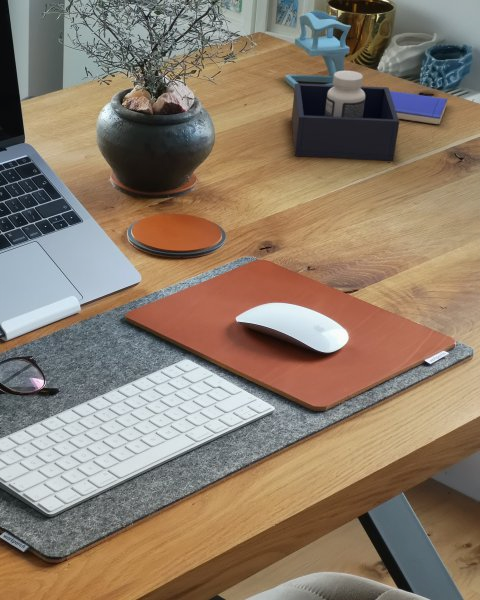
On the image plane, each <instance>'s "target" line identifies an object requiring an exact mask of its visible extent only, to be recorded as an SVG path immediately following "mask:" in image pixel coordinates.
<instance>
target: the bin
mask: <svg viewBox="0 0 480 600" xmlns="http://www.w3.org/2000/svg"><path fill="white" fill-rule="evenodd" d="M332 87H334V85H324V84H317V83H316V84H315V83H298V84H295V89H293V90H294V91H293V100H292V101H293V102H292V111H291V129H292V141H293V142H292V143H293V150H294V157H308V158H326V159H327V158H329V159H344V160H345V159H347V160H364V161H365V160H366V161H384V162H385V161H387V162H388V161H390V162H394V159H395V153H396V145H397V140H398V133H399V127H400V119H398V116H397V113H396V110H395V106H394V103H393V100H392V97H391V94H390V91H391V90H390V88H389V87H387V86H384V87H383V86H363V85H362V87H360V89H362V90H363V91H364V93H365V104H364V111H363V118H349V117H328V116H325V109H326V100H327V93H328V91H329V90H330V89H331V88H332Z"/></svg>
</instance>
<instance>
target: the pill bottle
mask: <svg viewBox="0 0 480 600" xmlns="http://www.w3.org/2000/svg"><path fill="white" fill-rule="evenodd" d="M363 80H364V75H363V74H362V73H360V72H357V71H353V70H344V71H338V72H336V73H335V74H334V78H333V85H334V87H332V88H331V89H330V90H329V91H328V93H327V100H326V109H325V116H328V117H349V118H363V111H364V104H365V93H364V91H363V90H362V89H360V87H362V86H363V82H364V81H363Z"/></svg>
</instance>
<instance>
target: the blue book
mask: <svg viewBox="0 0 480 600" xmlns="http://www.w3.org/2000/svg"><path fill="white" fill-rule="evenodd" d="M389 91H390V94H391V97H392V100H393V103H394V106H395V110H396V113H397V116H398V119H399V120H405V121H412V122H419V123H427V124H434V125H440V123H441V121H442V118H443V116H444V113H445V111H446V109H447V104H448V98H445V97H444V98H443V97H436V96H430V95H429V96H428V95H420V94H415V93H407V92H401V91H394V90H389Z"/></svg>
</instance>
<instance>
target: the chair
mask: <svg viewBox="0 0 480 600" xmlns="http://www.w3.org/2000/svg"><path fill="white" fill-rule="evenodd" d="M337 18H338V16H337V15H331V14H329V13H326V12H325V11H322V10H311V11H309V12H308V11H307V12H306V13H304V14H302V15H300V16H299V26H300V31H301V32H300V36H299V37H295V39H294V45H295V46H297V47H298V48H301V49H302V50H303V51H304V52H305V53H306V54H307V55H308V56H310V57H319V56H320V57H322V59H323V61H324V63H325V66H326V69H327V71H328V74H329V75H322V74H321V75H319V74H286V75H285V76H284V77H285V79H284V80H285V82H286V84H288V85H289V86H290V87H291V88H293V90H295V84H299V82H303V83H304V82H306V83H324V84H323V85H333V78H334V74H335V73H336V72H338V71H345V57H346V55H348V54H350V52H351V51H350V50H351V48H350V47H349V46H348V45H346V39H347V35H348V34H349V31H350V29H351V27H352V25H350V24H344V23H342V22H340V21H338V20H337ZM306 26H307V27H308V28H309V29H310V30H311V32H312V37H307V28H306ZM334 29H338V30H340V31H342V32H343V33H342V34H341V36H340V38H339V39H338V38H337V37H336V36H334ZM325 31H327V35H325V36H319V34H320V33H322V32H325Z"/></svg>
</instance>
